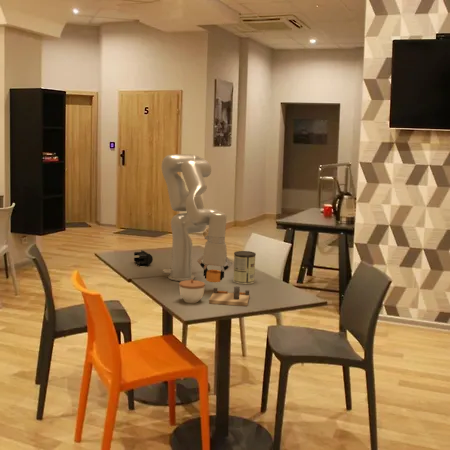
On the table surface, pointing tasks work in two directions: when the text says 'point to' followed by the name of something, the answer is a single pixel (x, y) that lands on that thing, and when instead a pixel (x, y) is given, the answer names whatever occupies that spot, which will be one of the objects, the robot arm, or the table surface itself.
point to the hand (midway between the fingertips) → (213, 278)
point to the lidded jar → (191, 290)
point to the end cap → (143, 258)
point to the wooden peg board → (230, 297)
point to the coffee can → (244, 267)
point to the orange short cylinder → (213, 275)
